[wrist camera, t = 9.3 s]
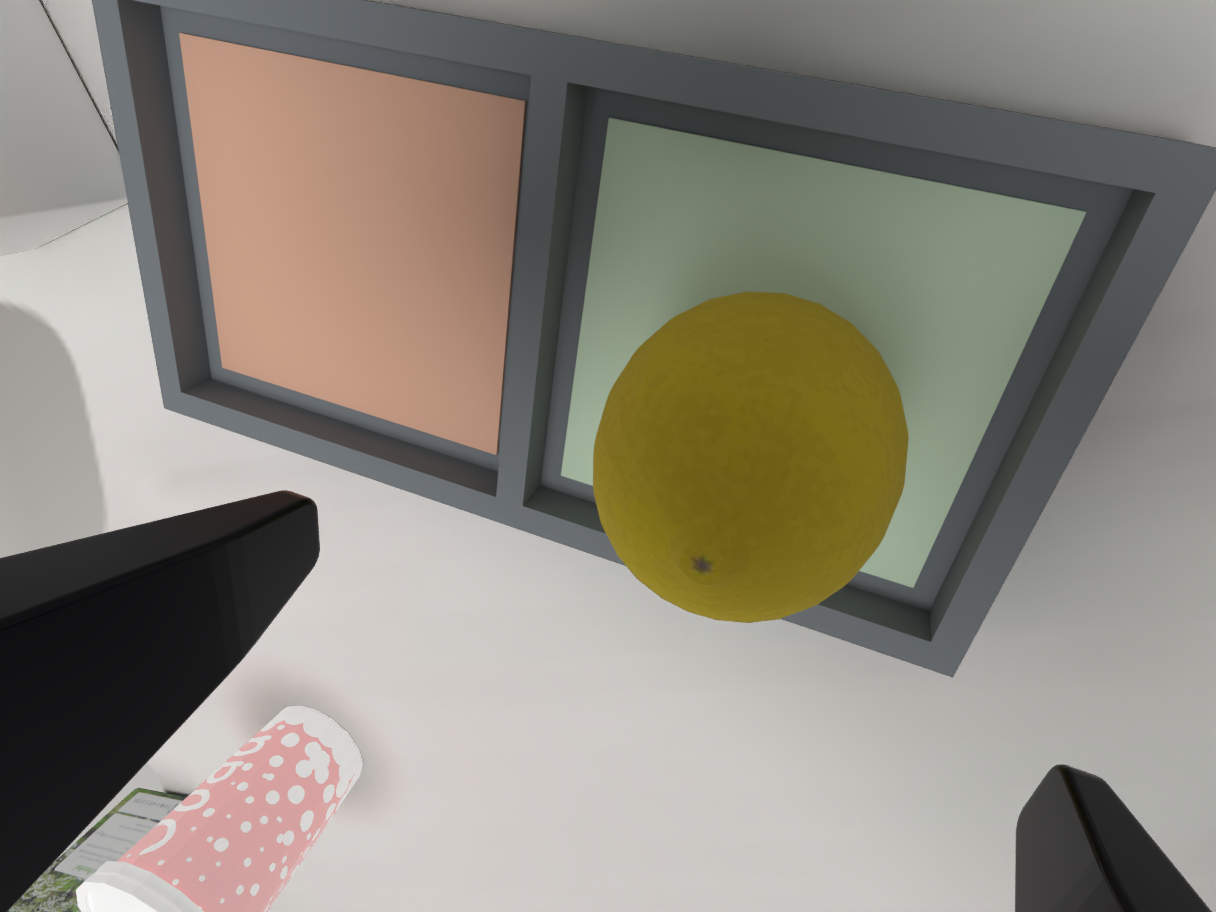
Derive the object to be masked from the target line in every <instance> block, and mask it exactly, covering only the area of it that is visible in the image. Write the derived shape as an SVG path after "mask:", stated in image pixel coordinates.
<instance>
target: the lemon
mask: <svg viewBox="0 0 1216 912" xmlns="http://www.w3.org/2000/svg"><path fill="white" fill-rule="evenodd" d="M908 441H909V436H908V428H907V424H906V419H905V414H904V409H903V404H902V400H901V395H900V391H899V388H898V386H897V384H896V382H895V380H894V379H893V377H892V375H891V373H890V371H889V369H888V368H887V366H886V364H885V362H884V360H883V358H882V356H881V355H880V353H879V352H878V350H877V349H876V348H875V347H874V346H873V345H872V344H871V343H870V342H869V341H868V339H867V338H866V337H865V336H864V335H863V334H862V333H861V332H860V331H859V330H858V329H857V328H856V327H855V326H854V325H853V324H852V323H851V322H849V321H847V320H846V319H844V318H842V317H841V316H839V315H838V314H836V313H834V312H833V311H831V310H829V309H828V308H826V307H824V306H823V305H821V304H819V303H816V302H813V301H809V300H806V299H802V298H799V297H796V296H792V295H789V294H786V293H770V292H749V291H747V292H742V293H737V294H732V295H727V296H722V297H717V298H713V299H710V300H707V301H705V302H703V303H701V304H699V305H697V306H695V307H693V308H691V309H689V310H687V311H685V312H683V313H681V314H679V315H677V316H675V317H673V318H672V319H670V320H669V321H668V322H667V323H665V324H664V325H663V326H662V327H661V328H660V329H659V330H658V331H656V332H655V333H654V334H653V335H652V336H651V337H650V338H648V339H647V340H646V341H645V342H644V343H643V344H642V345H641V346H640V347H639V348H638V349H637V350H636V351H635V353H634V354H633V355H632V357H631V358H630V360H629V362H628V363H627V365H626V366H625V368H624V369H623V371H622V372H621V374H620V375H619V377H618V378H617V380H616V382H615V383H614V385H613V387H612V389H611V390H610V392H609V395H608V398H607V401H606V404H605V407H604V410H603V414H602V417H601V421H600V424H599V427H598V431H597V434H596V438H595V443H594V452H593V490H594V497H595V501H596V505H597V509H598V513H599V517H600V521H601V524H602V526H603V528H604V531H605V533H606V534H607V536H608V538H609V540H610V542H611V544H612V546H613V548H614V550H615V551H616V553H617V555H618V557H619V558H620V559H621V560H622V562H623V563H624V564H625V565H626V566H627V567H628V569H629V570H630V571H631V572H632V573H633V574H634V576H635V577H636V578H637V579H638V580H639V581H641V582H642V583H643V584H644V585H646V586H647V587H648V588H649V589H651V590H652V591H653V592H655V593H656V594H657V595H658V596H660V597H661V598H662V599H664V600H666V601H668V602H670V603H672V604H674V605H676V606H678V607H680V608H682V609H684V610H686V611H688V612H691V613H694V614H698V615H701V616H705V617H708V618H712V619H715V620H723V621H735V622H746V623H751V622H760V621H768V620H776V619H781V618H784V617H786V616H789V615H792V614H794V613H797V612H800V611H803V610H805V609H808V608H811V607H813V606H816V605H818V604H819V603H820V602H822V601H823V600H825V599H826V598H828V597H829V596H831V595H832V594H834V593H835V592H837V591H838V590H840V589H841V588H843V587H844V586H845V585H846V584H847V583H848V582H850V581H851V580H852V579H853V577H854V576H855V575H856V574H857V573H858V571H859V570H860V569H861V568H862V567H863V565H864V564H865V563H866V562H867V560H868V559H869V558H870V557H871V556H872V554H873V553H874V552H875V550H876V549H877V548H878V546H879V545H880V543H881V541H882V540H883V538H884V536H885V534H886V531H887V529H888V526H889V524H890V522H891V519H892V517H893V514H894V512H895V509H896V507H897V505H898V502H899V500H900V497H901V495H902V492H903V488H904V484H905V473H906V462H907V452H908Z"/></svg>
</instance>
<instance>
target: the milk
mask: <svg viewBox="0 0 1216 912" xmlns="http://www.w3.org/2000/svg"><path fill="white" fill-rule="evenodd" d="M127 203H128V201H127V195H126V190H125V184H124V178H123V173H122V167H121V162H120V156H119V152H118V150H117V148H116V146H115V145H114V143H113V141H112V139H111V137H110V135H109V133H108V131H107V129H106V127H105V125H104V123H103V122H102V120H101V118H100V116H99V114H98V112H97V110H96V108H95V106H94V104H93V102H92V101H91V99H90V97H89V95H88V93H87V91H86V89H85V87H84V85H83V83H82V81H81V79H80V78H79V76H78V74H77V72H76V70H75V68H74V66H73V64H72V62H71V60H70V58H69V57H68V55H67V53H66V51H65V49H64V47H63V45H62V43H61V41H60V39H59V37H58V35H57V34H56V32H55V30H54V28H53V26H52V24H51V22H50V20H49V18H48V16H47V14H46V13H45V11H44V9H43V7H42V5H41V3H40V1H39V0H0V256H3V255H8V254H13V253H18V252H23V251H28V250H33V249H36V248H38V247H40V246H42V245H44V244H46V243H48V242H50V241H52V240H54V239H56V238H58V237H60V236H62V235H64V234H66V233H68V232H70V231H72V230H74V229H76V228H78V227H80V226H82V225H84V224H86V223H88V222H90V221H92V220H94V219H96V218H98V217H100V216H103V215H105V214H107V213H109V212H111V211H113V210H115V209H117V208H119V207H121V206H123V205H125V204H127Z"/></svg>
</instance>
